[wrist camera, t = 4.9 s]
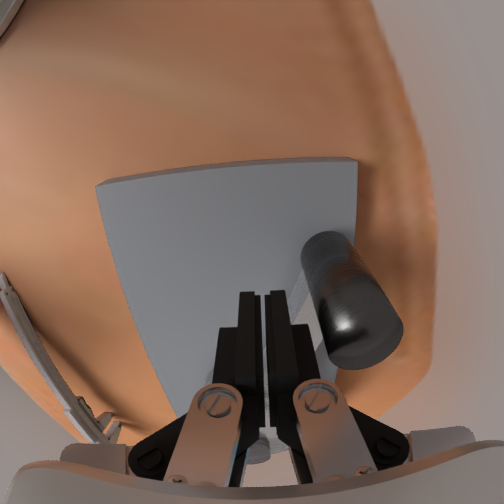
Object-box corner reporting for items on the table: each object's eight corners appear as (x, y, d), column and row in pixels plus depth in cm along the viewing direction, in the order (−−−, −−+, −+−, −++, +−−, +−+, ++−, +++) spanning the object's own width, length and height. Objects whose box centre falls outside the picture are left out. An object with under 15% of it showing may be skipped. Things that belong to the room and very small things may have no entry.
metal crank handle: (265, 204, 13) (278, 283, 7) (390, 246, 14) (456, 326, 8) (197, 403, 20) (186, 478, 14) (281, 417, 21) (286, 489, 15)
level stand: (107, 179, 14) (94, 186, 13) (348, 157, 14) (358, 162, 13) (185, 416, 24) (183, 429, 23) (323, 410, 24) (325, 424, 22)
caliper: (123, 421, 26) (110, 467, 20) (116, 421, 26) (103, 466, 21) (5, 269, 17) (-39, 312, 12) (-1, 272, 18) (-43, 314, 12)
